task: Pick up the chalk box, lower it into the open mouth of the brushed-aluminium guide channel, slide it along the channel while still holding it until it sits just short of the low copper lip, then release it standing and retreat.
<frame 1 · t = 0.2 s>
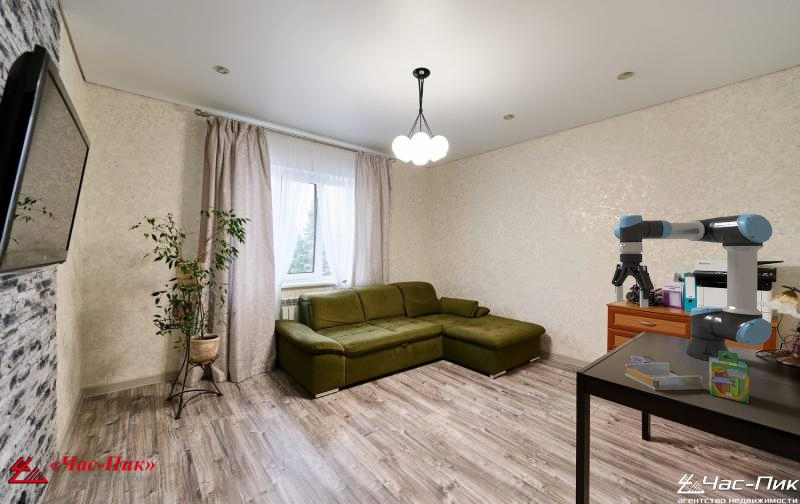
hand: (631, 304, 130), 28 cm above the table, fingers open, 13 cm apart
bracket: (661, 381, 120), on the table
rock: (645, 368, 134), on the table
chalk box: (728, 395, 109), on the table
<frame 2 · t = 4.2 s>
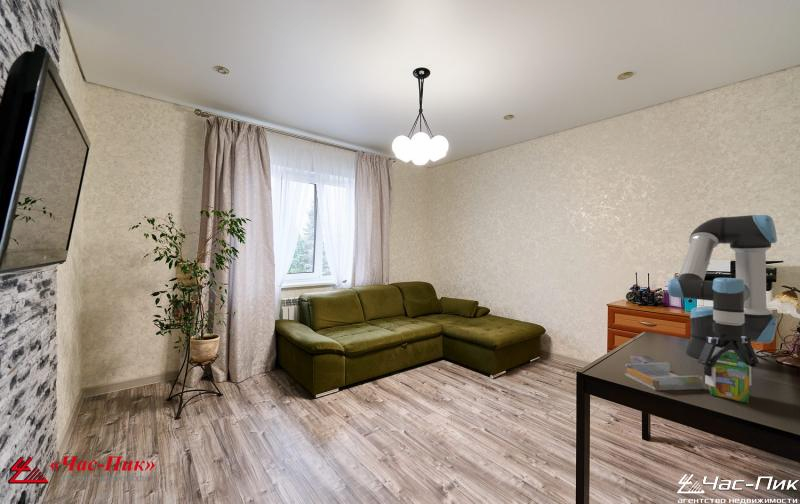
hand: (728, 384, 109), 4 cm above the table, fingers closed on chalk box, 12 cm apart
chalk box: (727, 395, 109), on the table, touching gripper
everything else where it was.
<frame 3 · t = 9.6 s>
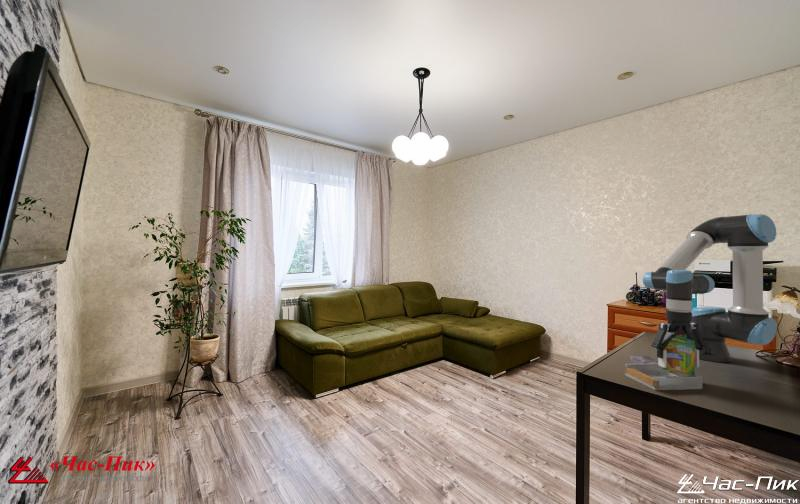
hand: (678, 366, 120), 6 cm above the table, fingers closed on chalk box, 12 cm apart
chalk box: (678, 369, 120), point 4 cm above the table, touching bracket, gripper
everything else where it was.
when the fingers open (5 cm above the table, at t = 12.7 s): chalk box stays where it is, resting on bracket.
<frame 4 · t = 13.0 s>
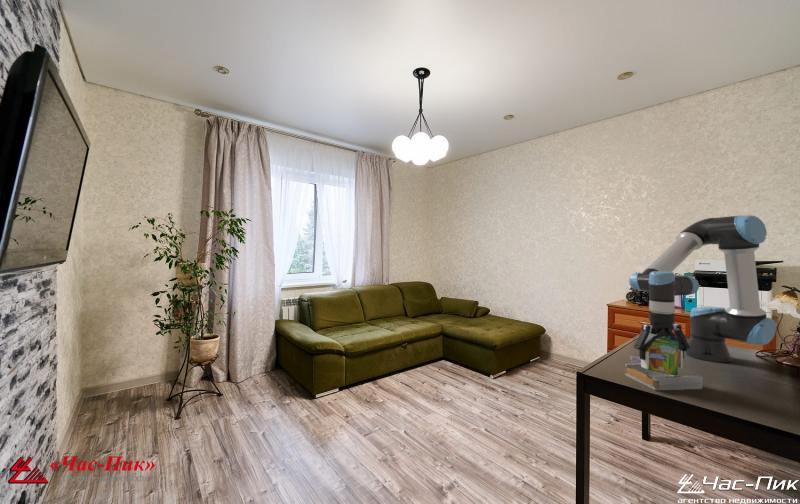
hand: (661, 367, 120), 5 cm above the table, fingers open, 13 cm apart
chalk box: (662, 370, 120), point 4 cm above the table, touching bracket, gripper
everything else where it was.
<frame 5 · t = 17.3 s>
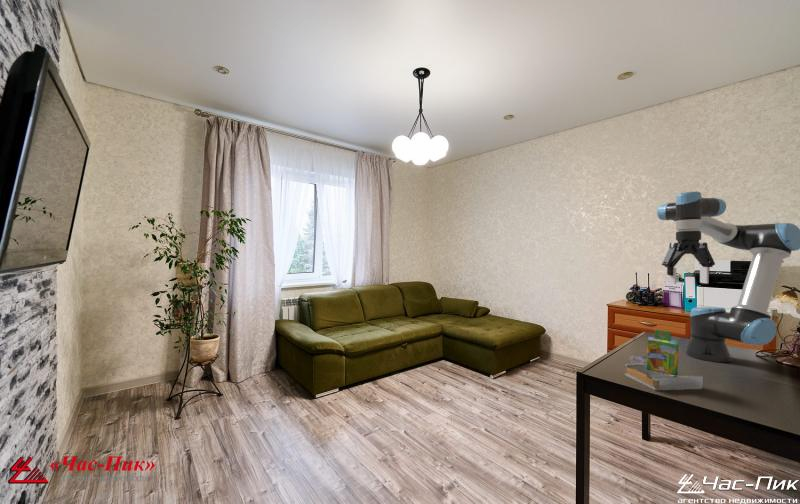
hand: (688, 283, 127), 37 cm above the table, fingers open, 13 cm apart
chalk box: (662, 370, 120), point 4 cm above the table, touching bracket
everything else where it was.
at the end: chalk box inside the target area on the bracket (1.3 cm from its centre), point 4.3 cm above the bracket's base; chalk box tilted 0°; the gripper is holding nothing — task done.
